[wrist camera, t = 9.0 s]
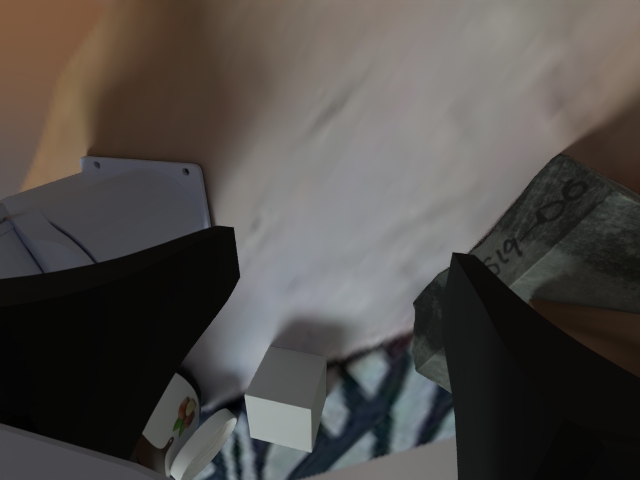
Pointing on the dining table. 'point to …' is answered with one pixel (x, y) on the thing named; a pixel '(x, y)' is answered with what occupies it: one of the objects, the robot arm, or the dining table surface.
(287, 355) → the grey cube
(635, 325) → the walnut cube
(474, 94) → the dining table surface
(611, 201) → the stone block
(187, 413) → the spread jar
